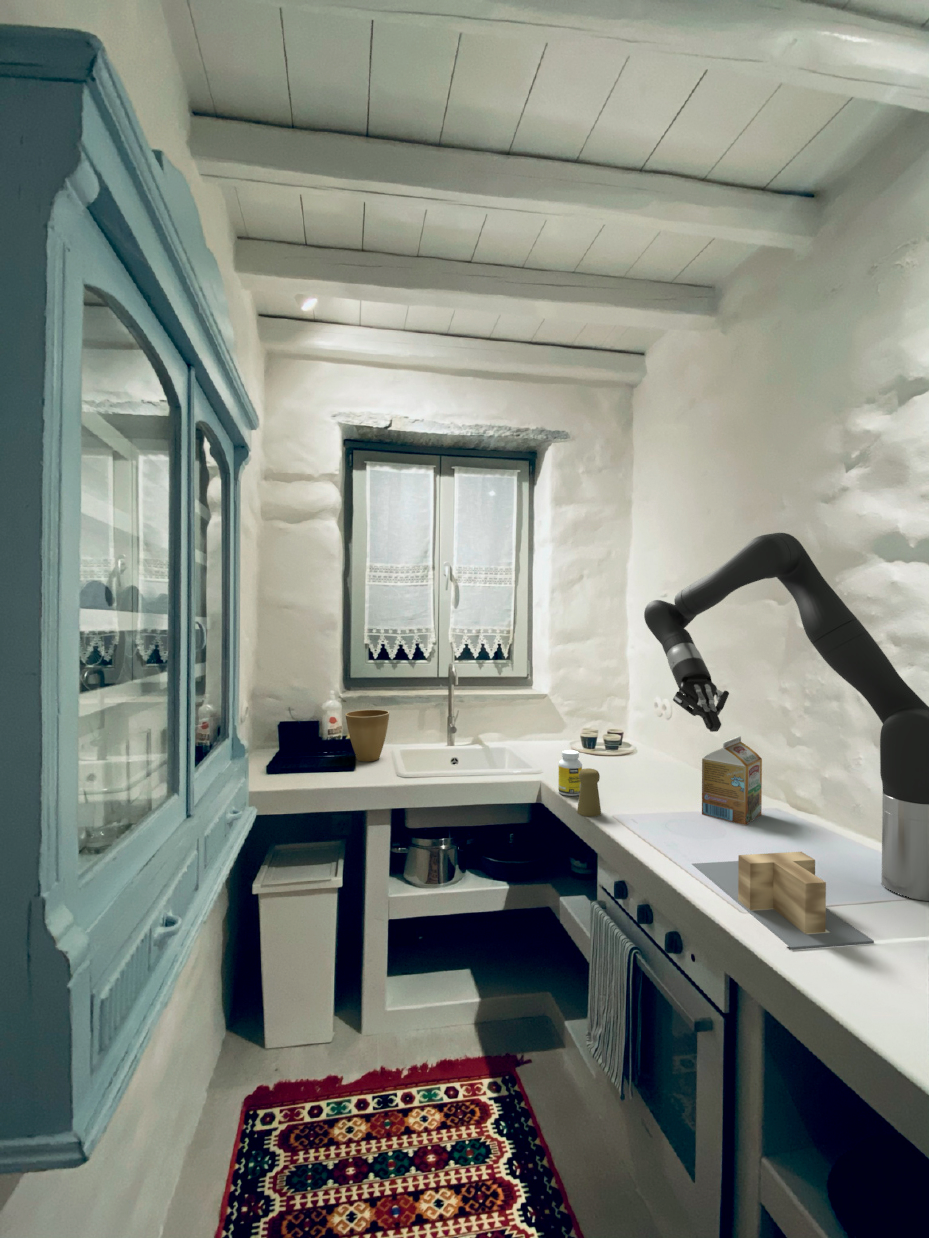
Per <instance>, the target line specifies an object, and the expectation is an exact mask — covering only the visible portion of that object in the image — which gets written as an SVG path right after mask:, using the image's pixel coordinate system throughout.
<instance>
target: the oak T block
mask: <svg viewBox="0 0 929 1238" xmlns="http://www.w3.org/2000/svg"><path fill="white" fill-rule="evenodd" d="M737 861H738V900H739V901H740V902H741V903H742V904H743V905H745V906H746V907H747V908H748V909H749V910H758V909H774V910H776V911H777V912H778V913H779V914H781V915H782V916H783V917H785V918H786V919H787V920H788V921H790V922H791V923H792V924H793V925H795V926H796V927H797V928H799V929H800V930H801V931H802V932H804V933H805V934H807V933H821V932H825V924H826V908H827V907H826V906H827V904H826V903H827V899H826V898H827V882H826V881H825V880H823V879H821V878H820V877H818V876H816V859H814V858H813V857H812V856H810V855H808V854H806V853H804V852H803V851H789V852H774V853H773V852H770V853H753V854H752V853H751V854H738V860H737Z"/></svg>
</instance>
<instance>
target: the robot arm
mask: <svg viewBox="0 0 929 1238" xmlns="http://www.w3.org/2000/svg"><path fill="white" fill-rule="evenodd" d="M774 578H777V580H778V581H780V583H781V584H782V585H783V586H784V588H786V589H787V591H788V592H789V593H790V595H791V596H792V598H793V599H794V602H795V603H796V605H797V609H798V612H799V616H800V619H801V624H802V626H803V627H802V628H803V631H804V633H805V634H806V637H807V638H808V639H809V642H810V643H811V645H812V646H813V647H814V648H815V649H816V651H817V652H818V654H819V655H820V657H822V659H823V660H824V661H825V663H827V665H828V666H829V667H831V669H832V670H833V671H834V672H835V673H836V674H837V675H839V676H840V677H841V678H842V679H843V680H845V682H847V683H848V684H849V685H850V686H852V687H853V688H854V689H855V690H857V691H858V692H859V694H861V696H862V697H863V698H864V699H865V700H866V701H867V703H868V704H869V705H870V707H871V708H872V710H873V711H874V712H875V714H876V715H877V717H878V718H879V720H880V722H881V723H882V726H881V729H880V735H879V738H880V739H879V761H880V762H879V763H880V765H879V767H880V769H879V770H880V772H879V773H880V778H881V783H882V794H881V795H882V796H881V797H882V799H881V801H882V804H881V805H882V806H881V808H882V809H881V811H882V815H881V820H882V822H881V885H882V886H883V885H884V886H885V887H886V888H885V887H884V886H883V887H884V888H885V889H887V890H888V889H889V890H888V891H890V890H892V891H893V892H892V891H891V892H892V893H894V892H895V893H894V894H896V893H899V894H901V895H900V896H902V895H904V896H903V897H905V896H907V897H906V898H908V897H909V898H908V899H912V900H917V901H918V900H919V901H923V902H924V901H925V902H927V901H928V902H929V706H928V704H927V703H926V702H925V701H924V700H923V699H922V698H921V697H920V696H919V695H918V694H917V693H916V692H915V691H914V690H913V689H912V688H911V687H910V686H909V685H908V684H907V682H906V681H905V680H904V679H903V678H902V677H901V675H899V673H898V672H897V670H896V669H895V667H894V665H893V664H892V663H891V661H890V660H889V658H888V657H887V655H886V654H885V652H884V651H883V649H881V647H880V646H879V645H878V643H877V642H876V640H875V639H874V637H873V636H872V635H871V634H870V632H869V631H868V630H867V629H866V627H865V626H864V625H863V624H862V623H861V621H860V620H859V619H858V618H857V616H856V615H855V614H853V612H852V611H851V610H850V608H848V606H847V605H846V604H845V603H844V601H843V600H842V599H841V598H840V596H839V595H838V594H837V592H836V591H835V590H834V589H833V588H832V587H831V585H829V583H828V582H827V581H826V579H825V578H824V577H823V575H822V574H821V572H820V571H819V569H818V567H817V566H816V565H815V563H814V561H813V560H812V558H811V557H810V555H809V553H808V551H807V550H806V548H804V546H803V545H802V543H801V542H800V541H799V539H797V538H796V536H793V535H792V534H789V533H785V532H773V533H767V534H763V535H759V536H756V537H754V538H752V539H751V540H750V541H749V542H748V543H746V544H745V545H744V546H743V547H742V548H740V550H738V551H737V552H736V553H735V554H734V555H733V556H732V557H730V558H729V559H728V560H727V561H725V562H724V563H723V564H722V565H720V566H719V567H718V568H715V570H712V572H710V573H708V574H707V575H705V576H703V577H701V578H700V579H698V580H696V581H694V582H693V583H691V584H689V585H688V586H686V587H684V588H683V589H681V590H679V592H677V593H676V595H675V597H674V601H673V602H674V604H673V603H671V602H667V601H664V600H660V599H655V600H651V601H650V602H649V603H647V605H646V606H645V608H644V615H643V616H644V617H643V618H644V621H645V625H646V626H647V628H648V629H649V631H650V632H651V633H652V634H653V636H654V637H655V638H656V640H657V641H658V642H659V644H661V646H662V649H663V652H664V654H665V656H666V659H667V663H668V666H669V668H670V671H671V673H672V676H673V678H674V680H675V683H676V685H677V687H678V691H676V693H675V695H674V696H673V698H672V701H673V702H674V703H675V704H677V705H679V707H681V708H682V709H684V710H685V711H686V712H688V713H689V714H690V715H692V716H693V717H696V716H699V717H700V718H702V721H703V723H704V725H705V728H706V729H707V730H709V732H711V733H716V732H719V730H720V729H721V727H722V722H721V720H720V718H719V715H720V713H721V712H722V710H723V709H724V707H725V705H726V702H727V699H728V698H729V695H730V691H728V690H723V691H721V690H719V689H718V687H717V685H716V684H715V683H714V682H713V681H712V676H711V674H710V671H709V669H708V667H707V665H706V663H705V661H704V659H703V656H702V654H701V652H700V651H699V650H698V648H697V646H696V645H695V643H694V642H695V641H694V640H693V638H692V636H691V634H690V632H689V631H688V630H687V629H686V628H687V626H688V625H689V624H690V623H691V622H692V621H693V620H694V619H695V618H696V617H697V616H698V615H700V614H702V613H704V612H706V611H708V610H709V609H712V608H713V607H714V606H716V605H718V604H720V602H722V601H723V600H724V599H725V598H726V597H728V596H729V595H730V594H732V593H733V592H735V591H737V590H738V589H741V588H742V587H744V586H747V585H749V584H753V583H756V582H759V581H762V580H765V579H774ZM715 699H716V700H715ZM715 701H717V703H716V704H715ZM899 894H898V895H899Z"/></svg>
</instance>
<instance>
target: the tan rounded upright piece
mask: <svg viewBox="0 0 929 1238" xmlns="http://www.w3.org/2000/svg"><path fill="white" fill-rule="evenodd" d="M600 777H601V776H600V773H599V771H598V769H595V768H589V767H588V768H582V770H581V771H580V772H579V780H580V781H581V787H580V794H579V795H578V802H577V803H578V804H577V809H576V811H577V812H576V813H577V814H578V815H580V816H583V817H590V818H591V817H598V816H601V815H602V809H601V808H602V807H601V800H600V793H599V786H598V783H599V782H600Z"/></svg>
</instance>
